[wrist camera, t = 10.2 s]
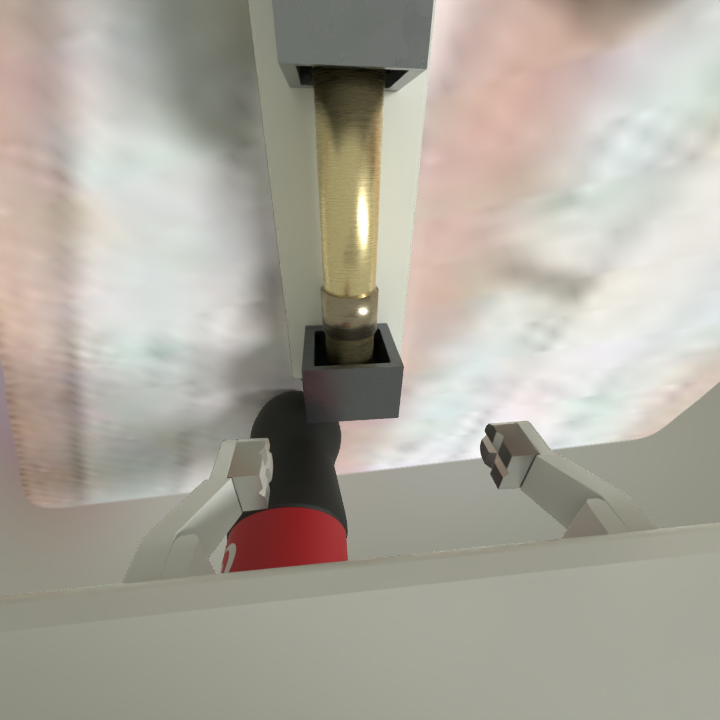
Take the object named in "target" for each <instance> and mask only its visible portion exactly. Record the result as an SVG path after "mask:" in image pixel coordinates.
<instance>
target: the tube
mask: <svg viewBox="0 0 720 720" xmlns="http://www.w3.org/2000/svg"><path fill="white" fill-rule="evenodd" d="M312 69H313V89H314V109H315V130H316V150H317V170H318V191H319V211H320V231H321V251H322V272H323V286H322V287H321V289H320V291H321V309H322V328H323V332H324V333H325V334H326V353H327V366H332V365H354V364H373V341H374V334H375V332H376V330H377V313H378V293H379V289H378V287H377V286H376V272H377V249H378V226H379V203H380V180H381V156H382V133H383V110H384V87H385V69H366V68H343V67H319V66H312Z"/></svg>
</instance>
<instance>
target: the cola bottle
mask: <svg viewBox="0 0 720 720" xmlns="http://www.w3.org/2000/svg"><path fill="white" fill-rule="evenodd" d="M255 438H268V439H269V443H270V448H269V452H270V453H272V458H273V474H272V480H271V481H270V483H269V488H270V496H269V502H268V509H261V510H252V511H243V512H242V514H241V516H240V517H239V518H238V520H237V521H236V522H235V524H234V525H233V526H232V528H231V529H230V530H229V532H228V533H227V545H226V550H225V553H224V558H223V562H222V566H221V570H220V574H221V573H231V572H240V571H250V570H260V569H270V568H280V567H290V566H299V565H309V564H319V563H329V562H339V561H348V556H347V541H346V539H347V532H348V530H347V520H346V515H345V511H344V506H343V502H342V497H341V493H340V489H339V485H338V480H337V476H336V471H335V467H334V464H335V461H336V458H337V456H338V453H339V449H340V444H341V430H340V425H339V422H338V421H336V422H320V423H307V420H306V410H305V400H304V392H299V391H296V392H288V393H284V394H281V395H279V396H277V397H275V398H273V399H272V400H270V401H269V402H268V403H267V404H266V405H265V406H264V407H263V408H262V410H261V411H260V413H259V414H258V416H257V418H256V420H255V422H254V424H253V427H252V431H251V437H250V439H255Z"/></svg>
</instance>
